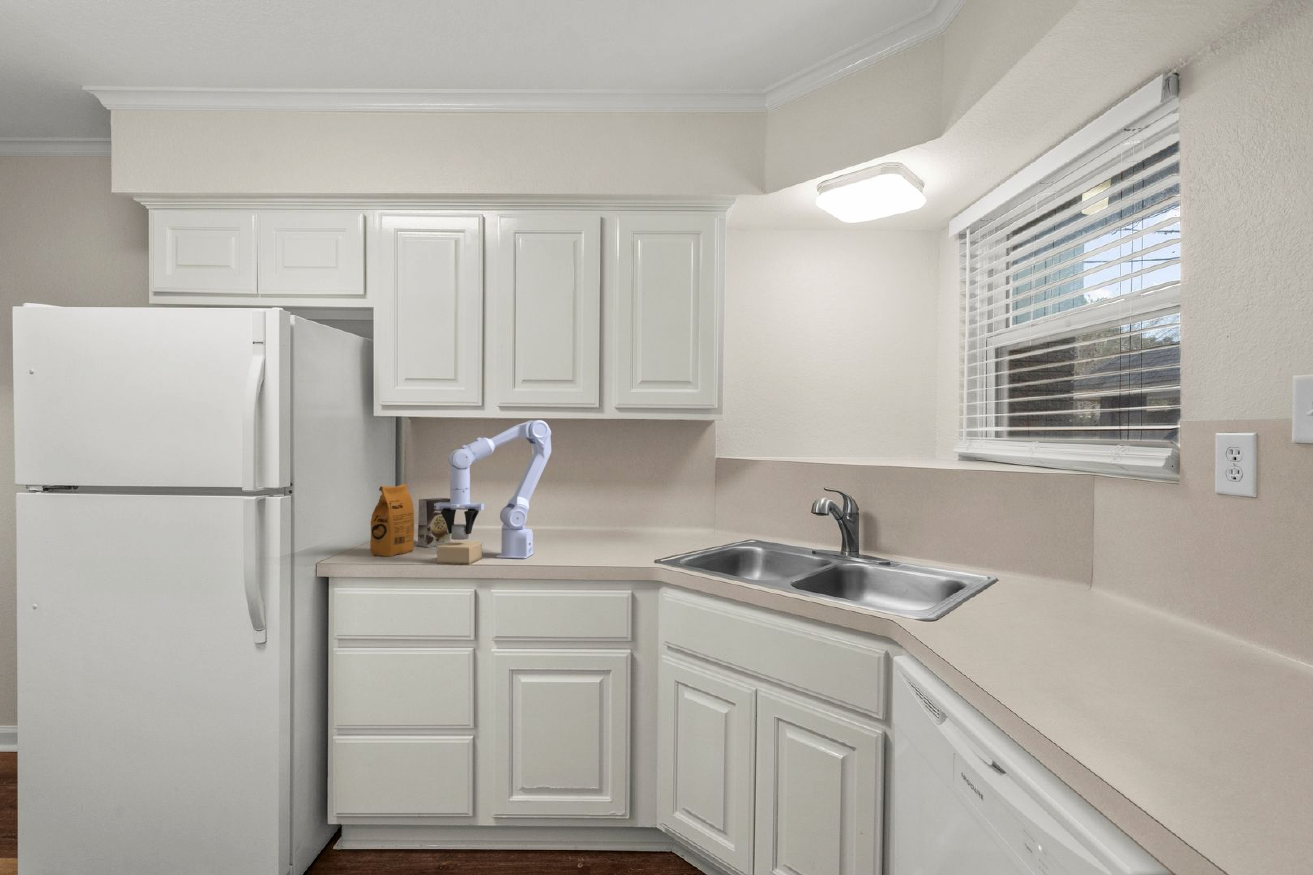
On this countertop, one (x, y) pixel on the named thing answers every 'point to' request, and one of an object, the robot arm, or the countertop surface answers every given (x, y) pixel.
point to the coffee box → (431, 523)
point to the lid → (459, 545)
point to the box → (459, 556)
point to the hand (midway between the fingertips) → (459, 533)
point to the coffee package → (392, 522)
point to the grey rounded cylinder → (459, 532)
